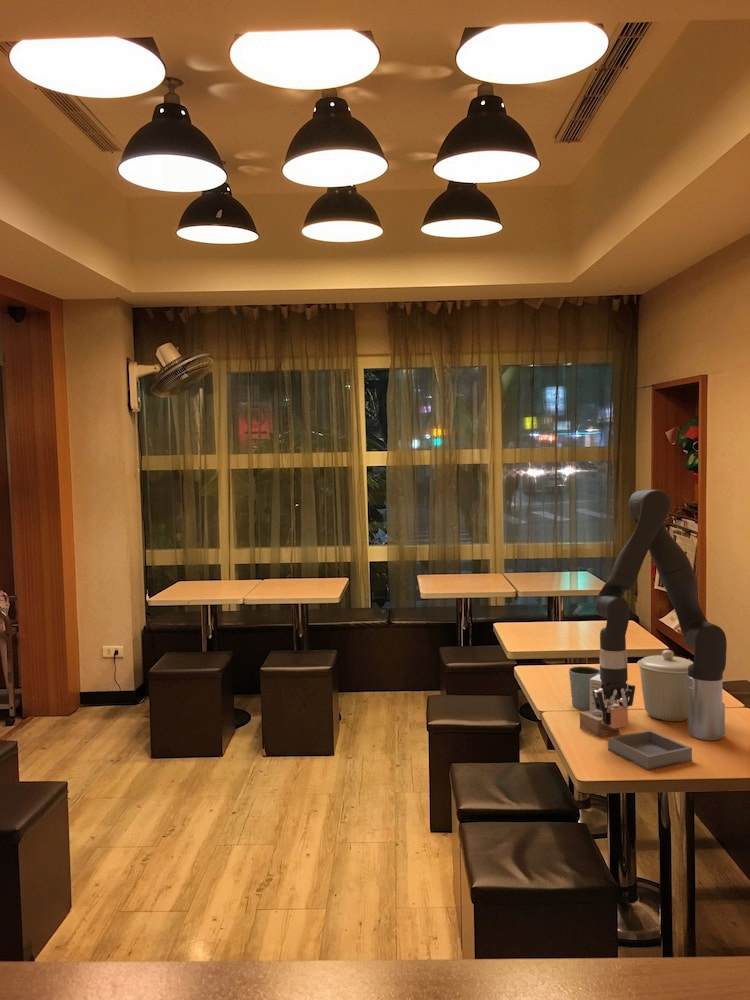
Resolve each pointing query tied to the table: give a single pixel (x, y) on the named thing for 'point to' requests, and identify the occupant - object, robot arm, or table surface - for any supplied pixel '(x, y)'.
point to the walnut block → (595, 723)
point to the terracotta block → (618, 716)
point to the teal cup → (581, 685)
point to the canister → (665, 686)
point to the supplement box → (595, 685)
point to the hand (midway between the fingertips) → (614, 722)
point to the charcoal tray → (649, 749)
